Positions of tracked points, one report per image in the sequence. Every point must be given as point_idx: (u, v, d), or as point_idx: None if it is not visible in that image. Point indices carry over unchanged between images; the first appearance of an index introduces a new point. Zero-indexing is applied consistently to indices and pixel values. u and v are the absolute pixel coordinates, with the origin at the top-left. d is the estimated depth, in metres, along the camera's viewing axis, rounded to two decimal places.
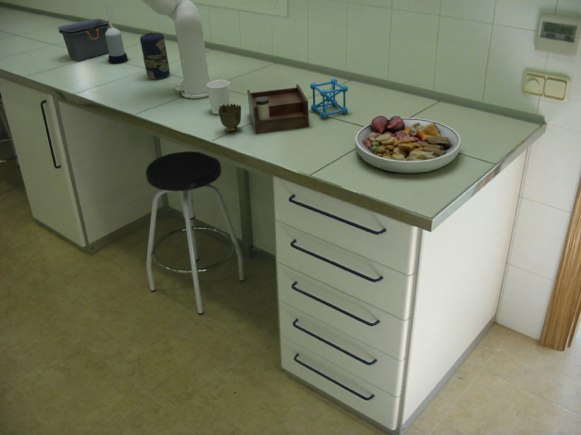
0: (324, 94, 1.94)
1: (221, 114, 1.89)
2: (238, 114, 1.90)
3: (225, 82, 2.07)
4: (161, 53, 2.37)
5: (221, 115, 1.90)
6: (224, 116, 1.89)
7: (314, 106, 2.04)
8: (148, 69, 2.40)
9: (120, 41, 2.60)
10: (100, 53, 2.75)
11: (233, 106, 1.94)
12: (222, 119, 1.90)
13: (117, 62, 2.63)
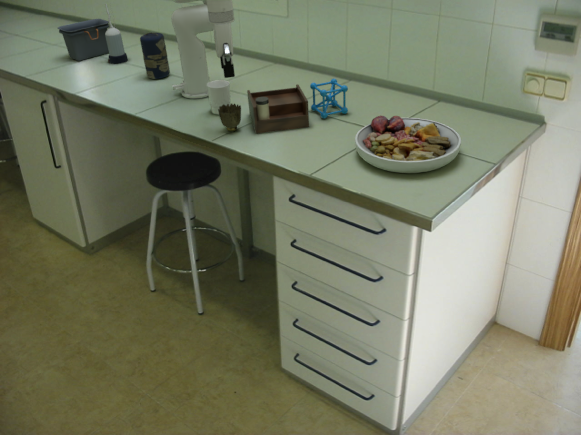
0: (324, 94, 1.94)
1: (221, 114, 1.89)
2: (238, 114, 1.90)
3: (225, 82, 2.07)
4: (161, 53, 2.37)
5: (221, 115, 1.90)
6: (224, 116, 1.89)
7: (314, 106, 2.04)
8: (148, 69, 2.40)
9: (120, 41, 2.60)
10: (100, 53, 2.75)
11: (233, 106, 1.94)
12: (222, 119, 1.90)
13: (117, 62, 2.63)
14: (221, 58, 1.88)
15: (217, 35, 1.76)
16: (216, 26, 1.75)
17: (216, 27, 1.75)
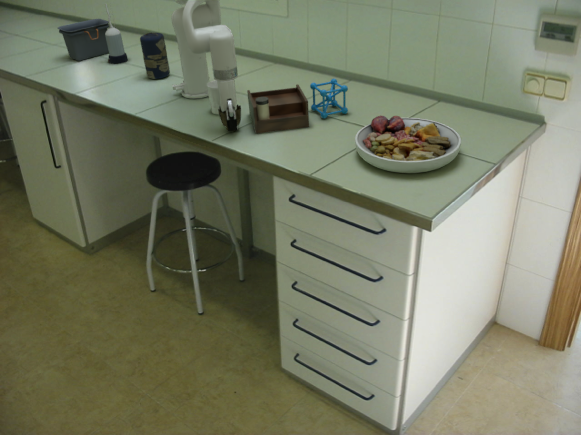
0: (324, 94, 1.94)
1: (221, 114, 1.89)
2: (238, 114, 1.90)
3: None
4: (161, 53, 2.37)
5: (221, 115, 1.90)
6: (224, 116, 1.89)
7: (314, 106, 2.04)
8: (148, 69, 2.40)
9: (120, 41, 2.60)
10: (100, 53, 2.75)
11: None
12: (222, 119, 1.90)
13: (117, 62, 2.63)
14: None
15: (221, 91, 1.83)
16: (220, 83, 1.82)
17: (220, 84, 1.82)
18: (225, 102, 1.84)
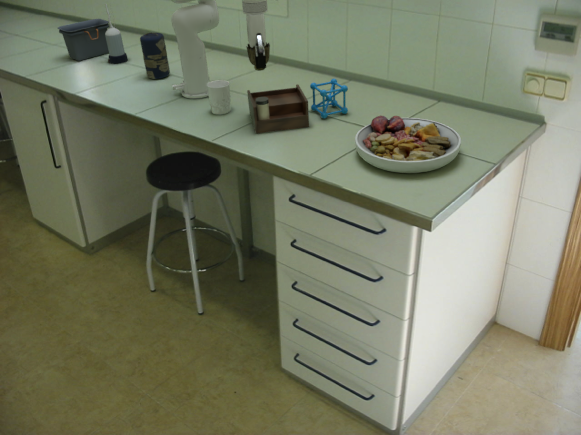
0: (324, 94, 1.94)
1: (250, 51, 1.85)
2: (267, 51, 1.85)
3: (225, 82, 2.07)
4: (161, 53, 2.37)
5: (249, 52, 1.85)
6: (253, 53, 1.85)
7: (314, 106, 2.04)
8: (148, 69, 2.40)
9: (120, 41, 2.60)
10: (100, 53, 2.75)
11: None
12: (250, 56, 1.86)
13: (117, 62, 2.63)
14: None
15: (251, 25, 1.78)
16: (250, 16, 1.77)
17: (250, 17, 1.78)
18: (254, 37, 1.80)
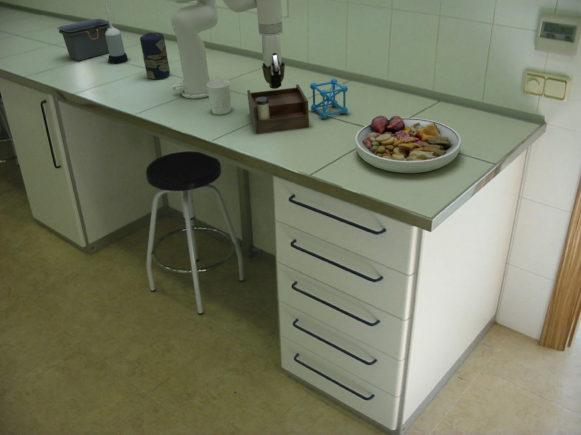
0: (324, 94, 1.94)
1: (265, 70, 1.91)
2: (282, 70, 1.91)
3: (225, 82, 2.07)
4: (161, 53, 2.37)
5: (265, 71, 1.91)
6: (268, 72, 1.90)
7: (314, 106, 2.04)
8: (148, 69, 2.40)
9: (120, 41, 2.60)
10: (100, 53, 2.75)
11: None
12: (266, 75, 1.92)
13: (117, 62, 2.63)
14: None
15: (267, 46, 1.84)
16: (266, 37, 1.83)
17: (266, 38, 1.83)
18: (270, 57, 1.86)
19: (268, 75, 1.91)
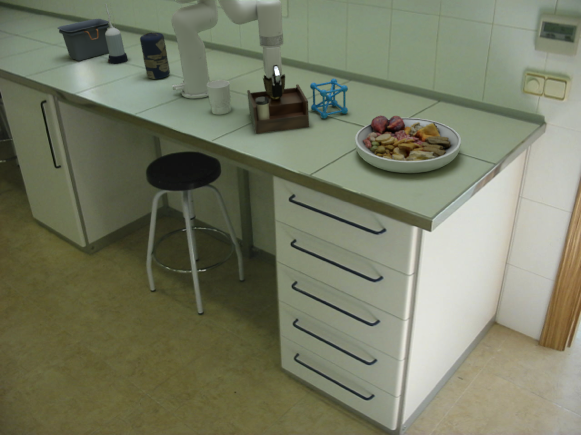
0: (324, 94, 1.94)
1: (266, 82, 1.93)
2: (283, 82, 1.93)
3: (225, 82, 2.07)
4: (161, 53, 2.37)
5: (266, 83, 1.93)
6: (269, 84, 1.93)
7: (314, 106, 2.04)
8: (148, 69, 2.40)
9: (120, 41, 2.60)
10: (100, 53, 2.75)
11: None
12: (267, 87, 1.94)
13: (117, 62, 2.63)
14: None
15: (268, 58, 1.86)
16: (267, 49, 1.85)
17: (267, 50, 1.85)
18: (271, 68, 1.88)
19: (269, 87, 1.93)
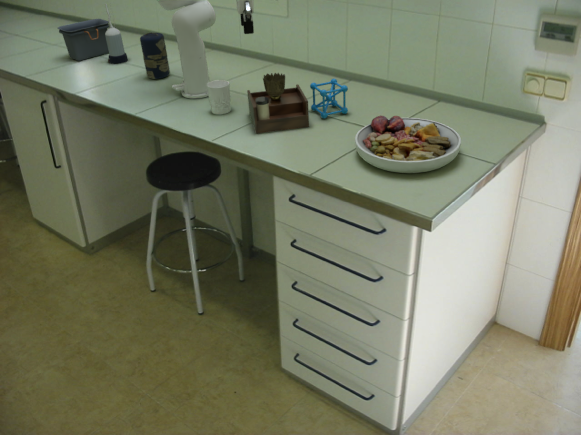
0: (324, 94, 1.94)
1: (266, 82, 1.93)
2: (283, 82, 1.93)
3: (225, 82, 2.07)
4: (161, 53, 2.37)
5: (266, 83, 1.93)
6: (269, 84, 1.93)
7: (314, 106, 2.04)
8: (148, 69, 2.40)
9: (120, 41, 2.60)
10: (100, 53, 2.75)
11: (277, 75, 1.98)
12: (267, 87, 1.94)
13: (117, 62, 2.63)
14: (241, 16, 2.02)
15: None
16: None
17: None
18: (243, 4, 1.90)
19: (269, 87, 1.93)
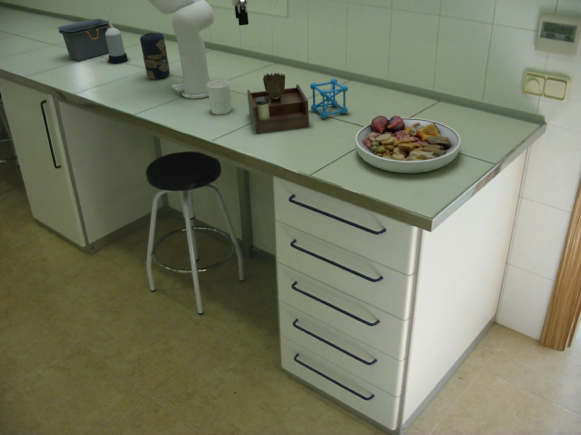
0: (324, 94, 1.94)
1: (266, 82, 1.93)
2: (283, 82, 1.93)
3: (225, 82, 2.07)
4: (161, 53, 2.37)
5: (266, 83, 1.93)
6: (269, 84, 1.93)
7: (314, 106, 2.04)
8: (148, 69, 2.40)
9: (120, 41, 2.60)
10: (100, 53, 2.75)
11: (277, 75, 1.98)
12: (267, 87, 1.94)
13: (117, 62, 2.63)
14: (236, 8, 2.04)
15: None
16: None
17: None
18: None
19: (269, 87, 1.93)
